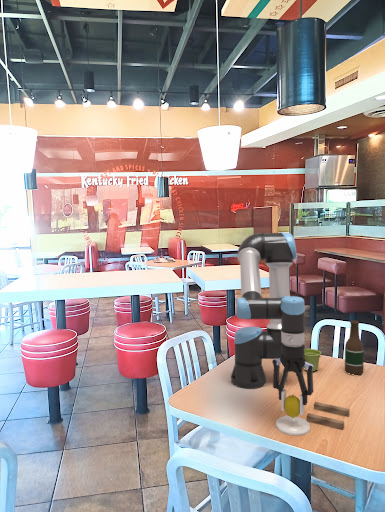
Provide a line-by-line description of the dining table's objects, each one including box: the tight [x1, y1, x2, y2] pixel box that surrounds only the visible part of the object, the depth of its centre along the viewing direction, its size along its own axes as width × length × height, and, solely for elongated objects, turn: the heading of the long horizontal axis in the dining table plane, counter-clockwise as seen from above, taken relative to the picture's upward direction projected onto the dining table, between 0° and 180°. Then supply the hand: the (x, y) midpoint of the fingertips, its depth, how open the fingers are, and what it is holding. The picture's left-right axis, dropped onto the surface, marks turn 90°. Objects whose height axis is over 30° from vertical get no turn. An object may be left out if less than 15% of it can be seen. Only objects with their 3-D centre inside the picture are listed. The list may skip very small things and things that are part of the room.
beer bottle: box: [344, 319, 365, 376], centre depth 177 cm, size 8×8×24 cm
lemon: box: [284, 394, 300, 418], centre depth 131 cm, size 6×6×8 cm
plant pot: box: [303, 348, 322, 372], centre depth 181 cm, size 9×9×9 cm
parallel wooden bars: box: [306, 401, 350, 430], centre depth 137 cm, size 12×12×2 cm
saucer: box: [275, 415, 311, 436], centre depth 132 cm, size 11×11×1 cm
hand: (292, 411), depth 131 cm, fingers closed on lemon, 5 cm apart
